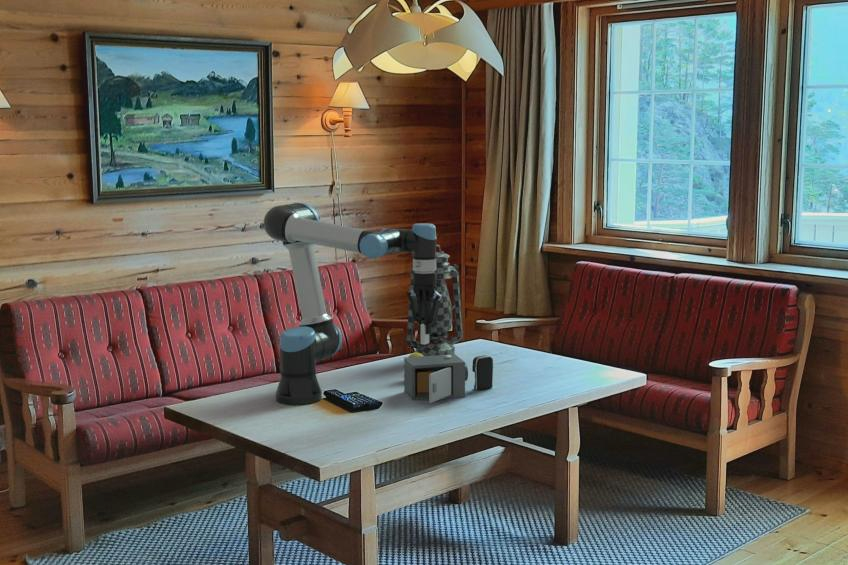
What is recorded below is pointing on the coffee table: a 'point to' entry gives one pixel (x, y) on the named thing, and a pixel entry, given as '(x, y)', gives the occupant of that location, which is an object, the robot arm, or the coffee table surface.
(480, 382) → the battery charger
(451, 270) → the lantern
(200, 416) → the coffee table surface
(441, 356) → the small grey cabinet
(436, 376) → the cabinet door
